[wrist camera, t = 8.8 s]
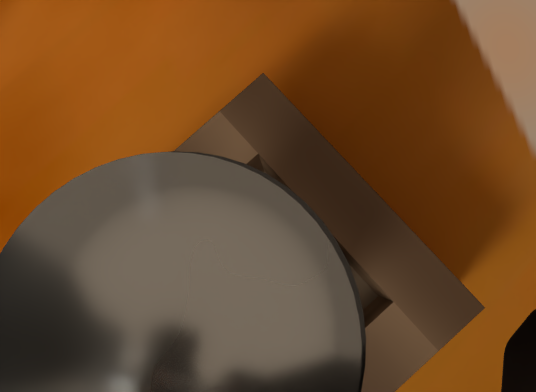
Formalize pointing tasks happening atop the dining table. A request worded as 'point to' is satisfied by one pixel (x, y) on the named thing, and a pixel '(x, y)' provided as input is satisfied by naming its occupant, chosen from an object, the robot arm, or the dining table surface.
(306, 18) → the dining table surface
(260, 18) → the dining table surface
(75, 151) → the dining table surface
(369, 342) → the socket block
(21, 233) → the silver metal can
